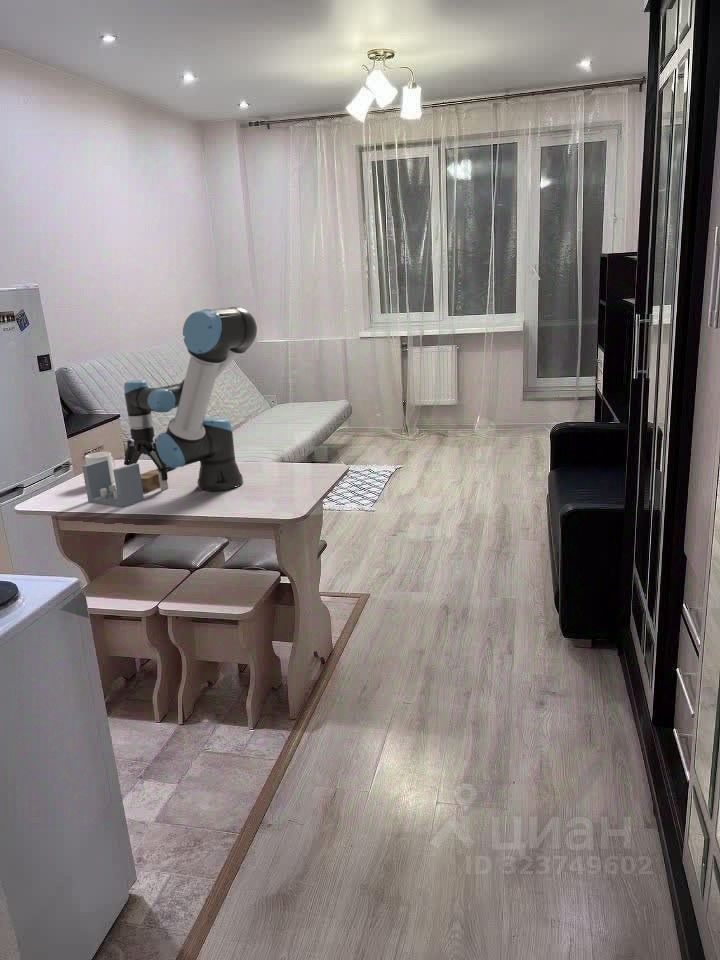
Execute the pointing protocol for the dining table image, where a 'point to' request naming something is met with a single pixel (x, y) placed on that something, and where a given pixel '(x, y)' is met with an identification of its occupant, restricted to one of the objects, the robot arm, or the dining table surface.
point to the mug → (102, 456)
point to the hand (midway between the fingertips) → (150, 487)
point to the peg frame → (107, 493)
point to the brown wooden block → (150, 481)
